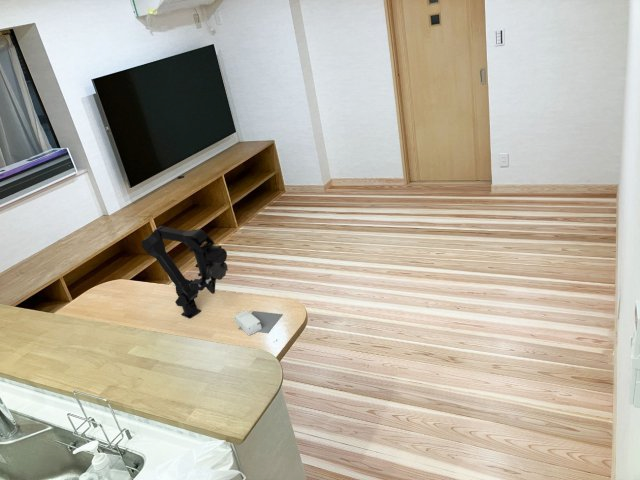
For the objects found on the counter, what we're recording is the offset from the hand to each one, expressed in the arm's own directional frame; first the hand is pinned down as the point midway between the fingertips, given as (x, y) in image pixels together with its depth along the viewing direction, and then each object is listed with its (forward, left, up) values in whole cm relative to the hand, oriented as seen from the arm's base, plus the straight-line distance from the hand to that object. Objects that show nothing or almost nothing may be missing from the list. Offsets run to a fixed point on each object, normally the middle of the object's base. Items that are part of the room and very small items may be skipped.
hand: (213, 293), depth 216 cm
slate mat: (+19, +6, -12) cm, 23 cm away
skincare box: (+11, +3, -9) cm, 15 cm away
